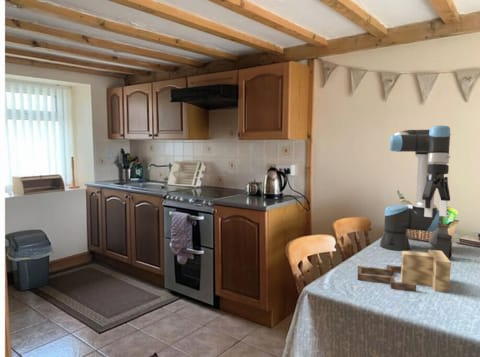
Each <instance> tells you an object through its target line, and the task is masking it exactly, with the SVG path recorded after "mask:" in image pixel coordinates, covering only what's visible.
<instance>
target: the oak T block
mask: <svg viewBox="0 0 480 357" xmlns="http://www.w3.org/2000/svg"><path fill="white" fill-rule="evenodd" d="M400 266H401V273H400V280H401V281H400V282H403V283H412V284H416V285H421V286H429V287H432V290H434V292H437V293H438V292H439V293H447V294H449V293H450V284H451V271H452V270H451V268H452V261H451V260H450V259H448V258H447V257H446V256H445V254H444V253H443V252H442V251H438V250H435V249H428V250H427V252H419V251H410V250H403V251H401V265H400Z"/></svg>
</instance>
